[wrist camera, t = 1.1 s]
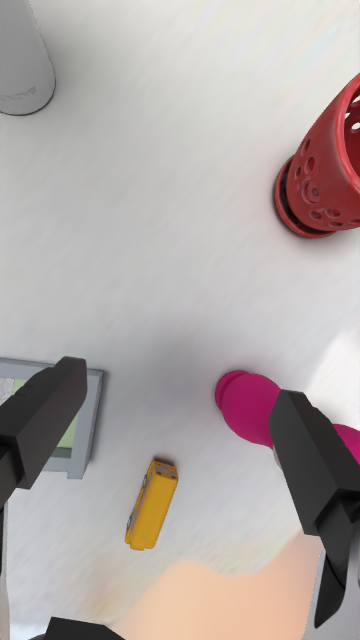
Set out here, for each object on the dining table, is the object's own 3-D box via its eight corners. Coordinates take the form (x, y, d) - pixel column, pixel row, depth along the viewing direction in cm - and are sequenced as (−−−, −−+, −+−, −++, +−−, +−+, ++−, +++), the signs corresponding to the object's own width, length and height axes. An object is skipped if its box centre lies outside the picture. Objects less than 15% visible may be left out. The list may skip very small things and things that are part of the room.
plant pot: (254, 161, 30) (326, 57, 18) (337, 153, 32) (449, 55, 20) (272, 256, 30) (354, 215, 19) (352, 242, 32) (472, 197, 21)
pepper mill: (233, 355, 29) (416, 427, 10) (272, 387, 30) (511, 514, 11) (200, 399, 29) (323, 572, 9) (240, 431, 30) (434, 653, 10)
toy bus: (124, 530, 27) (121, 563, 24) (152, 453, 28) (154, 474, 24) (148, 535, 28) (149, 569, 24) (175, 460, 28) (180, 481, 25)
